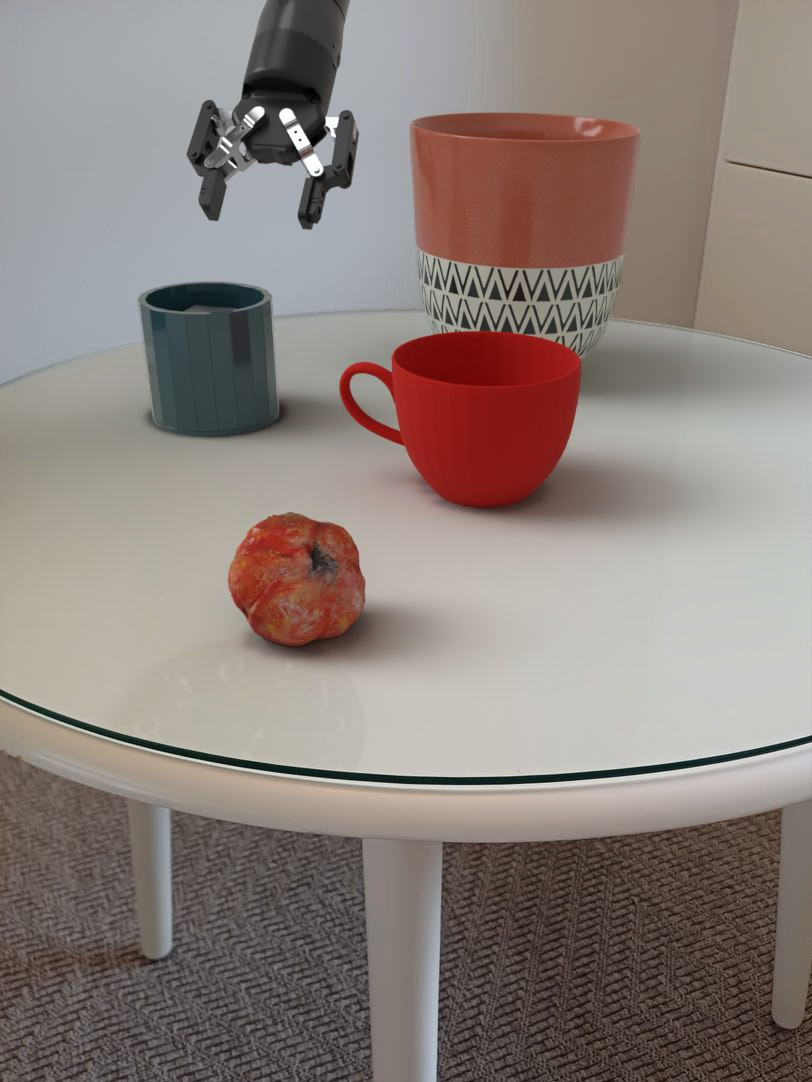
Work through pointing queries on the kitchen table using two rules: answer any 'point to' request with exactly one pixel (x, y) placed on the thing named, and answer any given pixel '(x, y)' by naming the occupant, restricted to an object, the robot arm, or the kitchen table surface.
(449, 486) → the ceramic cup
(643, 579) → the kitchen table surface
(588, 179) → the planter
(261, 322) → the crock
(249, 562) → the pomegranate
